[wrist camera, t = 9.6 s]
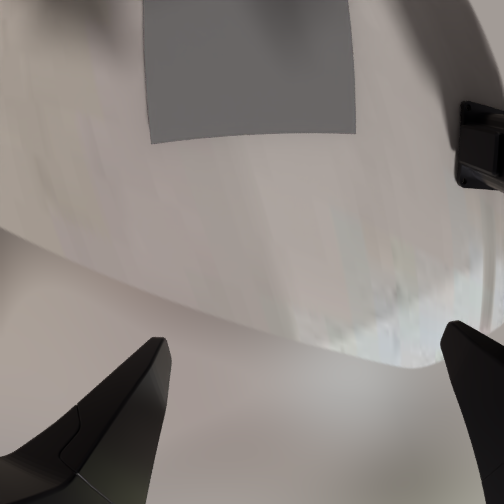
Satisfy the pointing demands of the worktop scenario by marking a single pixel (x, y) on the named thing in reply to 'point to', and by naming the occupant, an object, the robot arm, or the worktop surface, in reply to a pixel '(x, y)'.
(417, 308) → the worktop surface
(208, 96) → the mat
